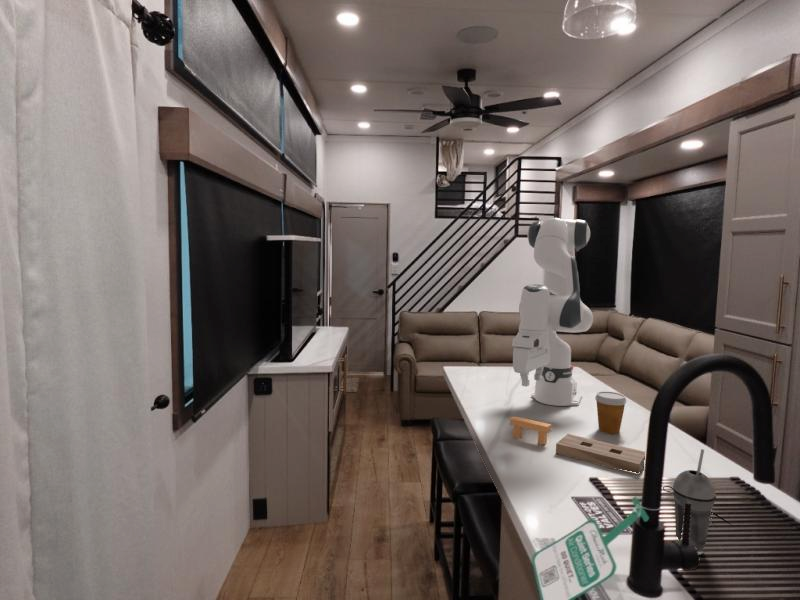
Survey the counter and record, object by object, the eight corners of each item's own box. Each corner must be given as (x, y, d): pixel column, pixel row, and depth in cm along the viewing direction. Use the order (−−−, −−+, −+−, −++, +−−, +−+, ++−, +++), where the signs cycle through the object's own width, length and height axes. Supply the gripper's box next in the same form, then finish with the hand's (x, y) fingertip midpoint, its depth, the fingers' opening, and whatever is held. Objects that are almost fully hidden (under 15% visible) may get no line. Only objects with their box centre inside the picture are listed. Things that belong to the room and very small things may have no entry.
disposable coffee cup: (625, 428, 161) (627, 393, 160) (623, 438, 153) (626, 400, 152) (595, 423, 165) (596, 389, 164) (591, 432, 157) (593, 396, 156)
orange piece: (513, 434, 154) (514, 416, 154) (550, 443, 147) (551, 424, 147) (509, 437, 152) (510, 418, 152) (546, 446, 145) (547, 427, 144)
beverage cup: (660, 538, 98) (666, 442, 96) (694, 537, 98) (701, 442, 96) (684, 561, 90) (691, 458, 89) (721, 559, 91) (729, 457, 89)
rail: (567, 443, 148) (567, 433, 147) (646, 462, 134) (647, 452, 134) (555, 453, 140) (556, 443, 139) (638, 475, 126) (639, 464, 126)
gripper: (536, 333, 157) (535, 375, 158) (509, 341, 141) (507, 387, 142) (555, 335, 153) (554, 378, 154) (530, 343, 137) (528, 391, 138)
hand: (531, 382), depth 148 cm, fingers open, 8 cm apart
